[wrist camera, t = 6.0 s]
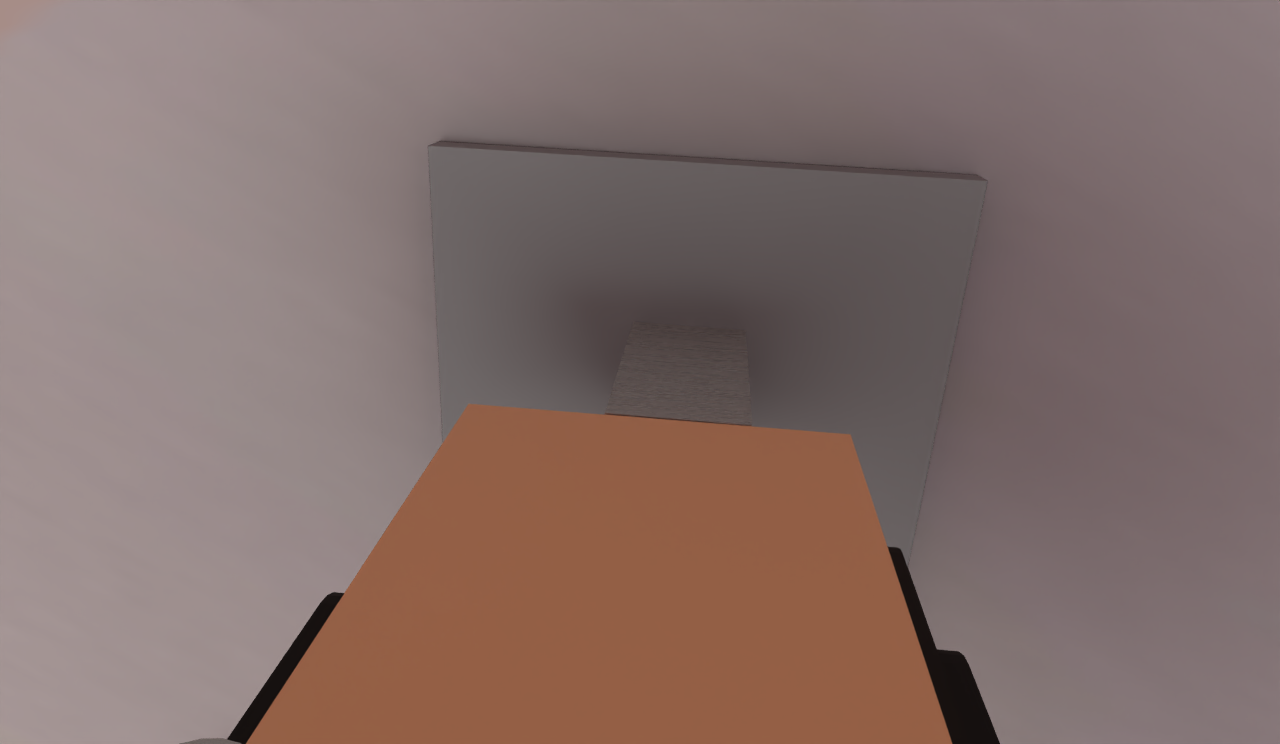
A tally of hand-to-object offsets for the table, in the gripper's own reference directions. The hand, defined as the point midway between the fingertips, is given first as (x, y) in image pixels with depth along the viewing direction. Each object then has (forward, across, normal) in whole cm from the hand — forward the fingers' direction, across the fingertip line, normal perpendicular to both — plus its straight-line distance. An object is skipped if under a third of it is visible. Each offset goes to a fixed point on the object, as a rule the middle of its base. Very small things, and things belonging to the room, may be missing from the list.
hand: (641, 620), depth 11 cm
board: (+10, 0, +6) cm, 11 cm away
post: (+9, 0, 0) cm, 9 cm away
